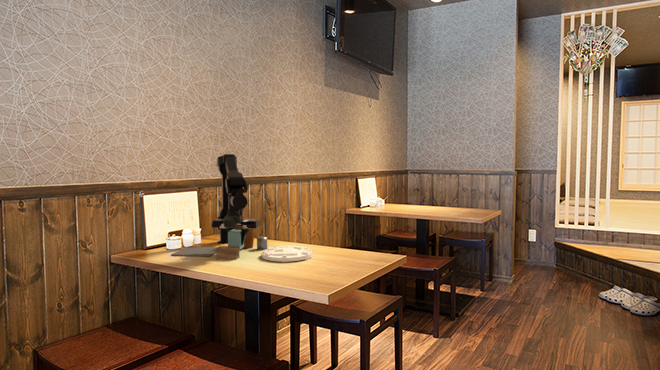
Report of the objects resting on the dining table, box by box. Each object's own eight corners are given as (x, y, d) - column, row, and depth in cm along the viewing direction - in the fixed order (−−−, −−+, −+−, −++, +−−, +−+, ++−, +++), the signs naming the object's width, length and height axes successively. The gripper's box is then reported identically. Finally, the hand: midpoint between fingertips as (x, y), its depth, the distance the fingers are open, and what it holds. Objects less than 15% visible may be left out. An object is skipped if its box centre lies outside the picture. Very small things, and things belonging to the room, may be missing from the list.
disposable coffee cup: (232, 246, 189) (232, 219, 189) (253, 244, 193) (253, 218, 193) (237, 250, 181) (237, 222, 180) (259, 248, 185) (259, 221, 184)
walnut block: (219, 257, 168) (219, 246, 168) (239, 257, 168) (239, 246, 167) (216, 259, 165) (216, 247, 165) (236, 259, 164) (236, 248, 164)
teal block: (232, 246, 178) (232, 229, 177) (244, 246, 177) (243, 230, 177) (227, 249, 173) (227, 231, 172) (239, 249, 172) (239, 232, 172)
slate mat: (189, 247, 186) (189, 246, 186) (224, 248, 184) (224, 247, 184) (171, 255, 170) (171, 254, 170) (209, 257, 168) (209, 255, 168)
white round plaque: (252, 261, 163) (252, 254, 163) (274, 251, 182) (274, 244, 181) (301, 265, 157) (301, 257, 157) (318, 253, 176) (318, 246, 176)
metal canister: (258, 247, 186) (258, 236, 186) (268, 248, 186) (268, 236, 186) (255, 249, 182) (255, 238, 182) (265, 250, 181) (265, 238, 181)
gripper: (205, 208, 167) (206, 247, 168) (251, 209, 165) (252, 249, 166) (216, 205, 178) (217, 242, 179) (260, 206, 176) (260, 243, 177)
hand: (236, 244), depth 175 cm, fingers closed on teal block, 5 cm apart
